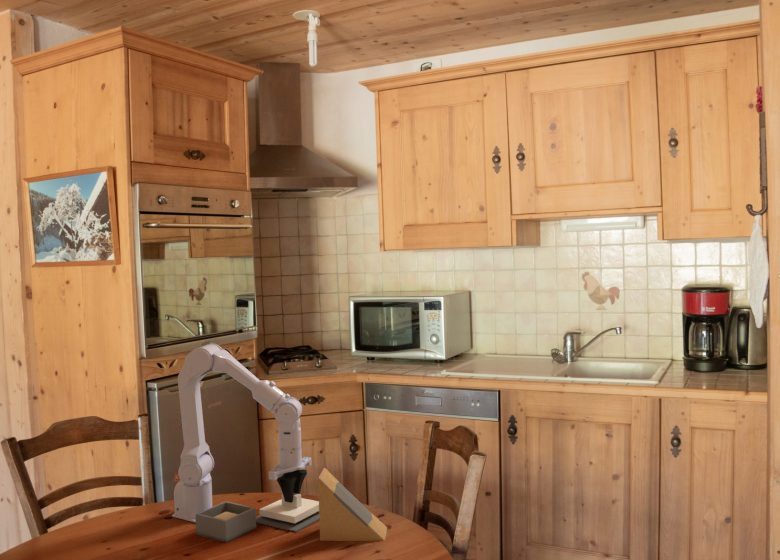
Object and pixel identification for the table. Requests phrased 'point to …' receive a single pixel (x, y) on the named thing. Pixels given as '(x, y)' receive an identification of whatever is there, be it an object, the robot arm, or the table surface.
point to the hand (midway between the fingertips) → (291, 500)
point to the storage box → (225, 521)
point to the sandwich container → (345, 514)
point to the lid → (290, 509)
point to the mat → (288, 525)
